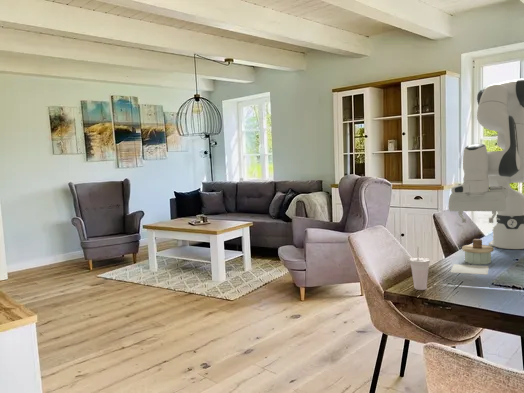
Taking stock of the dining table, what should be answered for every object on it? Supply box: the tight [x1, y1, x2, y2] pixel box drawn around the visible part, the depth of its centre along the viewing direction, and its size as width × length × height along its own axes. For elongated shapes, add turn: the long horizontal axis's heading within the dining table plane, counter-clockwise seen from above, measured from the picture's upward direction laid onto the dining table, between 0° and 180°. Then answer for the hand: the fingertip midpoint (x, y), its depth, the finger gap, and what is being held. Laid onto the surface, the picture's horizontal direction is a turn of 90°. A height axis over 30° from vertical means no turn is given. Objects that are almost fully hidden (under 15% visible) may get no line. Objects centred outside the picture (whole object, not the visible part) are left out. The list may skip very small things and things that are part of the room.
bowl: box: [464, 251, 492, 265], centre depth 173 cm, size 9×9×5 cm
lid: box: [461, 238, 495, 253], centre depth 173 cm, size 11×11×4 cm
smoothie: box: [409, 246, 431, 291], centre depth 146 cm, size 6×6×14 cm
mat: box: [450, 263, 490, 276], centre depth 163 cm, size 12×12×1 cm
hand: (477, 222), depth 172 cm, fingers open, 8 cm apart
